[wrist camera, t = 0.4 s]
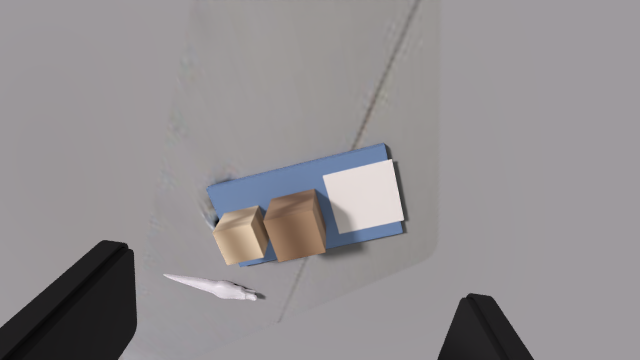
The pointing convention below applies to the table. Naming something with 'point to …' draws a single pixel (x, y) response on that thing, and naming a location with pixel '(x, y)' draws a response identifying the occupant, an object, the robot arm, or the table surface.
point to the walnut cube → (296, 225)
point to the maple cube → (242, 235)
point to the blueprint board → (326, 195)
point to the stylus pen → (217, 287)
